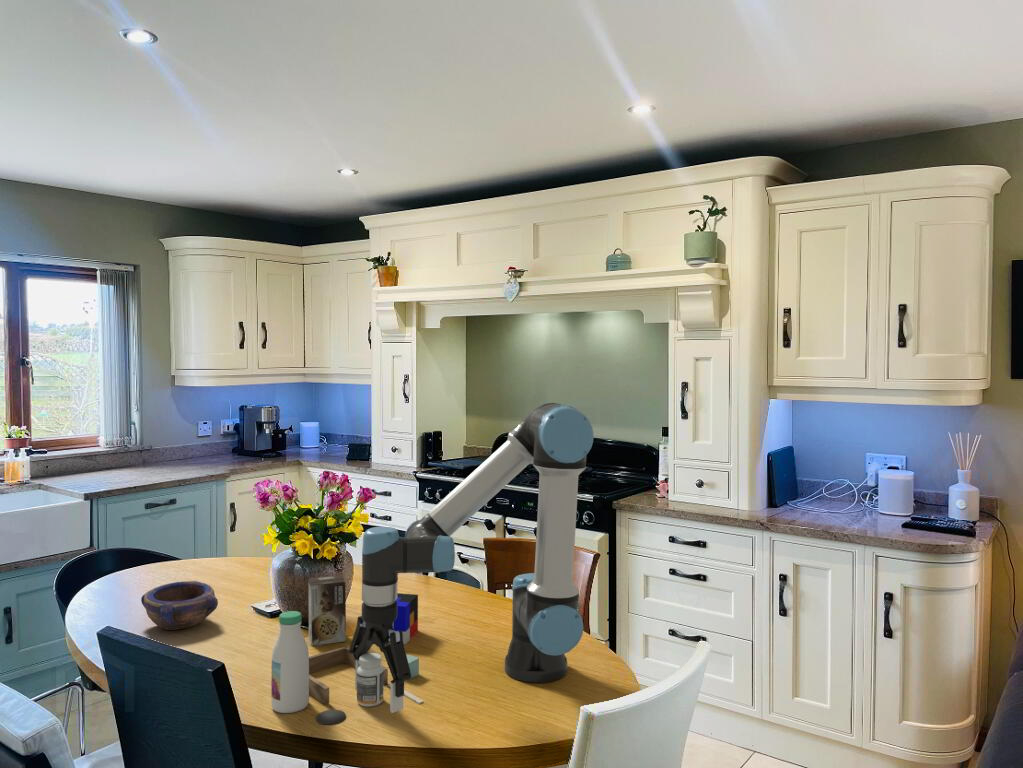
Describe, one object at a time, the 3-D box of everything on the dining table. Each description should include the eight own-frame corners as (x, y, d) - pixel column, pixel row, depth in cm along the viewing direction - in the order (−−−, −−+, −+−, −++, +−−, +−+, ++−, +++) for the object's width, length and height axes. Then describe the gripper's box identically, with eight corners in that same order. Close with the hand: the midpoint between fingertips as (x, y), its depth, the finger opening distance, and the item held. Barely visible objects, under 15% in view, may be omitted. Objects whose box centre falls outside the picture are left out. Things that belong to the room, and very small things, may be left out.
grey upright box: (342, 633, 207) (342, 574, 206) (346, 642, 201) (346, 581, 200) (307, 637, 203) (307, 577, 203) (310, 646, 197) (310, 584, 197)
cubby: (387, 683, 176) (387, 668, 176) (325, 704, 165) (325, 688, 165) (346, 659, 189) (346, 645, 189) (286, 678, 178) (286, 663, 178)
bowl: (154, 642, 199) (154, 604, 198) (136, 623, 213) (136, 587, 212) (224, 627, 210) (224, 591, 210) (202, 609, 224) (202, 576, 224)
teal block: (418, 674, 181) (419, 658, 181) (407, 680, 178) (407, 663, 178) (405, 670, 183) (406, 654, 183) (394, 676, 180) (394, 659, 180)
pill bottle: (369, 693, 171) (369, 649, 170) (388, 700, 167) (389, 655, 167) (351, 703, 166) (351, 658, 165) (370, 710, 163) (370, 664, 162)
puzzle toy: (405, 644, 200) (405, 606, 199) (369, 641, 202) (369, 603, 201) (417, 630, 209) (418, 594, 209) (383, 627, 211) (383, 592, 211)
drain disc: (351, 718, 159) (351, 716, 159) (325, 727, 155) (325, 726, 155) (336, 708, 163) (336, 706, 163) (310, 717, 159) (310, 715, 159)
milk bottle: (312, 697, 168) (312, 607, 167) (304, 714, 160) (304, 620, 160) (277, 697, 168) (277, 607, 167) (266, 714, 160) (266, 620, 159)
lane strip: (423, 702, 167) (423, 700, 167) (419, 703, 166) (419, 702, 166) (392, 684, 175) (392, 683, 175) (387, 685, 175) (387, 684, 175)
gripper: (429, 612, 156) (427, 714, 157) (363, 583, 175) (362, 675, 175) (398, 621, 151) (397, 726, 152) (334, 590, 169) (333, 684, 170)
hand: (378, 699), depth 164 cm, fingers open, 13 cm apart
